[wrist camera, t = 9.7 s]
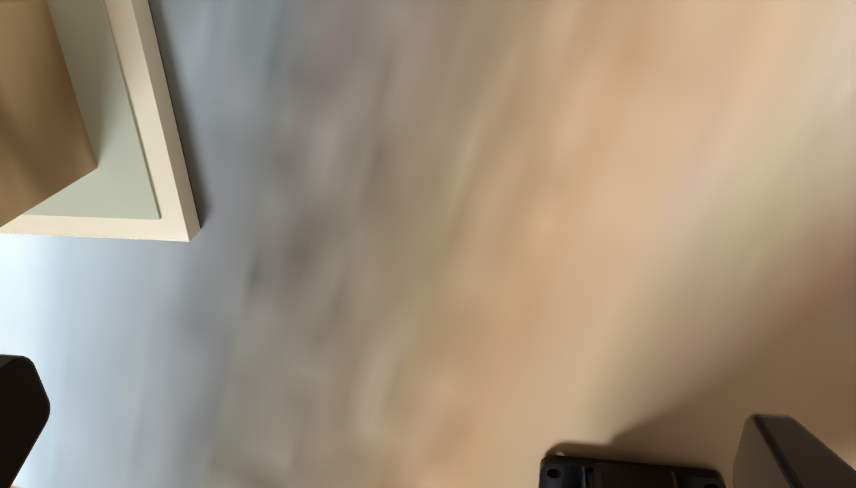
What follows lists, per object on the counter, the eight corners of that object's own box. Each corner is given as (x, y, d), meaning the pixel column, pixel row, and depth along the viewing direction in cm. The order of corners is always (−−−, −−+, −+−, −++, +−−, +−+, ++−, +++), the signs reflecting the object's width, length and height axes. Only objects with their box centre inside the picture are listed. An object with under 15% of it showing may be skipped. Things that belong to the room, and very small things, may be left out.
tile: (200, 230, 22) (187, 242, 21) (-57, 219, 23) (-78, 231, 22) (123, -107, 17) (102, -107, 16) (-194, -93, 18) (-227, -92, 18)
